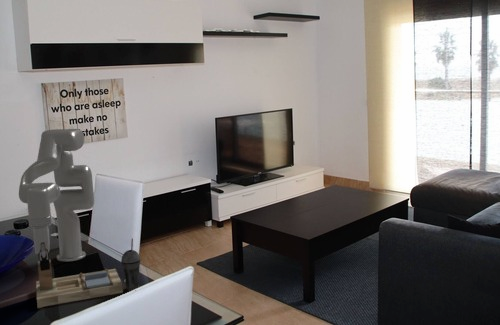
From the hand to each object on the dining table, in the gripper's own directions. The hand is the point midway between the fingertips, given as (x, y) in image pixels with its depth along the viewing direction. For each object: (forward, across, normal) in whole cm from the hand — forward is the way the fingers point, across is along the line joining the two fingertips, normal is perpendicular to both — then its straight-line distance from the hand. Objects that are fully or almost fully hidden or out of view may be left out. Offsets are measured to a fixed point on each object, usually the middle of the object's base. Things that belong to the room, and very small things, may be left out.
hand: (45, 265), depth 193 cm
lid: (+8, +5, +18) cm, 20 cm away
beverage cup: (+12, +8, +30) cm, 34 cm away
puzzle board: (+12, +1, +11) cm, 17 cm away
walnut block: (+8, +1, 0) cm, 9 cm away
